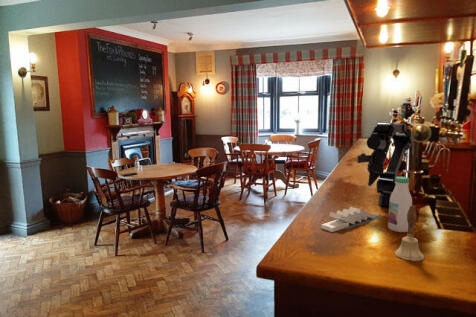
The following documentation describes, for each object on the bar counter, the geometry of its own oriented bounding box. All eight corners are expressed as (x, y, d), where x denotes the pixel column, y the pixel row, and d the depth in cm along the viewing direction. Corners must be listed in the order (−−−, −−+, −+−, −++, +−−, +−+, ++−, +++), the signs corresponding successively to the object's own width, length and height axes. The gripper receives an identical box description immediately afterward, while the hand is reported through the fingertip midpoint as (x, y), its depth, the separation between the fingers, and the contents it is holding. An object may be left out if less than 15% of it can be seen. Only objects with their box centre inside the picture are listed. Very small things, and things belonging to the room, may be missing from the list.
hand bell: (389, 250, 113) (392, 202, 111) (414, 249, 114) (417, 202, 112) (403, 262, 105) (407, 210, 103) (430, 260, 106) (434, 209, 103)
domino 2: (338, 219, 139) (321, 224, 133) (349, 222, 135) (332, 228, 129) (338, 223, 139) (321, 228, 133) (348, 226, 135) (332, 232, 129)
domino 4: (356, 213, 146) (343, 208, 140) (367, 216, 142) (354, 211, 136) (355, 217, 146) (342, 212, 140) (366, 220, 142) (353, 215, 136)
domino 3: (351, 215, 143) (337, 210, 137) (362, 218, 139) (348, 213, 133) (350, 219, 143) (336, 214, 137) (360, 222, 139) (347, 217, 133)
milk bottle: (408, 227, 135) (412, 176, 132) (411, 234, 127) (415, 180, 124) (387, 225, 137) (390, 175, 134) (388, 231, 130) (391, 179, 127)
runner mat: (366, 213, 153) (366, 212, 153) (383, 217, 146) (383, 216, 146) (330, 224, 138) (330, 223, 138) (347, 230, 132) (347, 229, 132)
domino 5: (362, 211, 148) (349, 206, 142) (373, 214, 144) (360, 209, 138) (361, 215, 148) (348, 210, 142) (372, 218, 144) (359, 213, 138)
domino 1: (344, 217, 141) (330, 211, 135) (355, 220, 137) (341, 215, 131) (343, 221, 141) (329, 215, 135) (354, 224, 137) (339, 219, 131)
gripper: (361, 146, 162) (351, 178, 164) (361, 146, 145) (349, 182, 147) (386, 153, 159) (375, 185, 161) (389, 154, 141) (377, 190, 143)
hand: (369, 185), depth 153 cm, fingers closed
